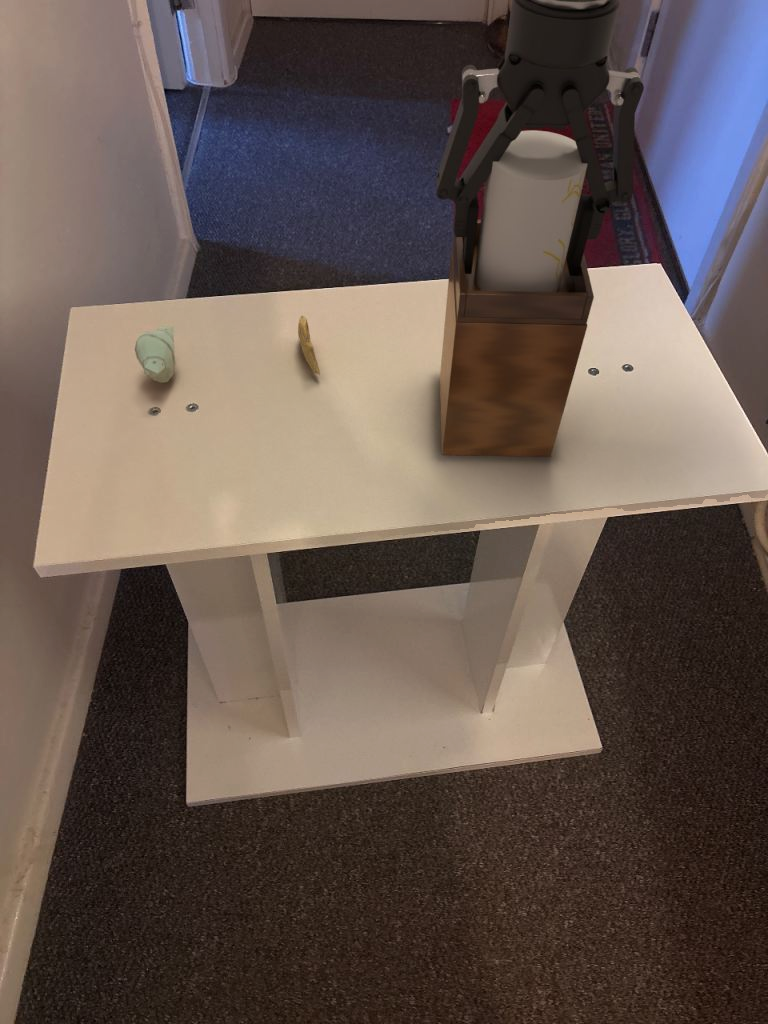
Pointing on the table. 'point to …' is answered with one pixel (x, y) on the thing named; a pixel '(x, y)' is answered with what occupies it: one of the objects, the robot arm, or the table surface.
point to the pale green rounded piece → (157, 353)
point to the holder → (520, 297)
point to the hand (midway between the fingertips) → (519, 266)
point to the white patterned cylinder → (529, 214)
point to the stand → (504, 383)
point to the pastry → (307, 344)
